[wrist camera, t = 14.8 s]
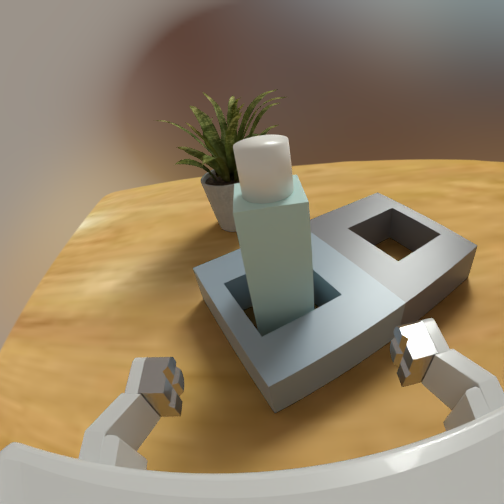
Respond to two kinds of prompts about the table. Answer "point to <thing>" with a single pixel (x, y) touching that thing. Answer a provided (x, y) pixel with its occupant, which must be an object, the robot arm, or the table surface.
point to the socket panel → (340, 295)
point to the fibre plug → (273, 232)
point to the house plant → (222, 155)
